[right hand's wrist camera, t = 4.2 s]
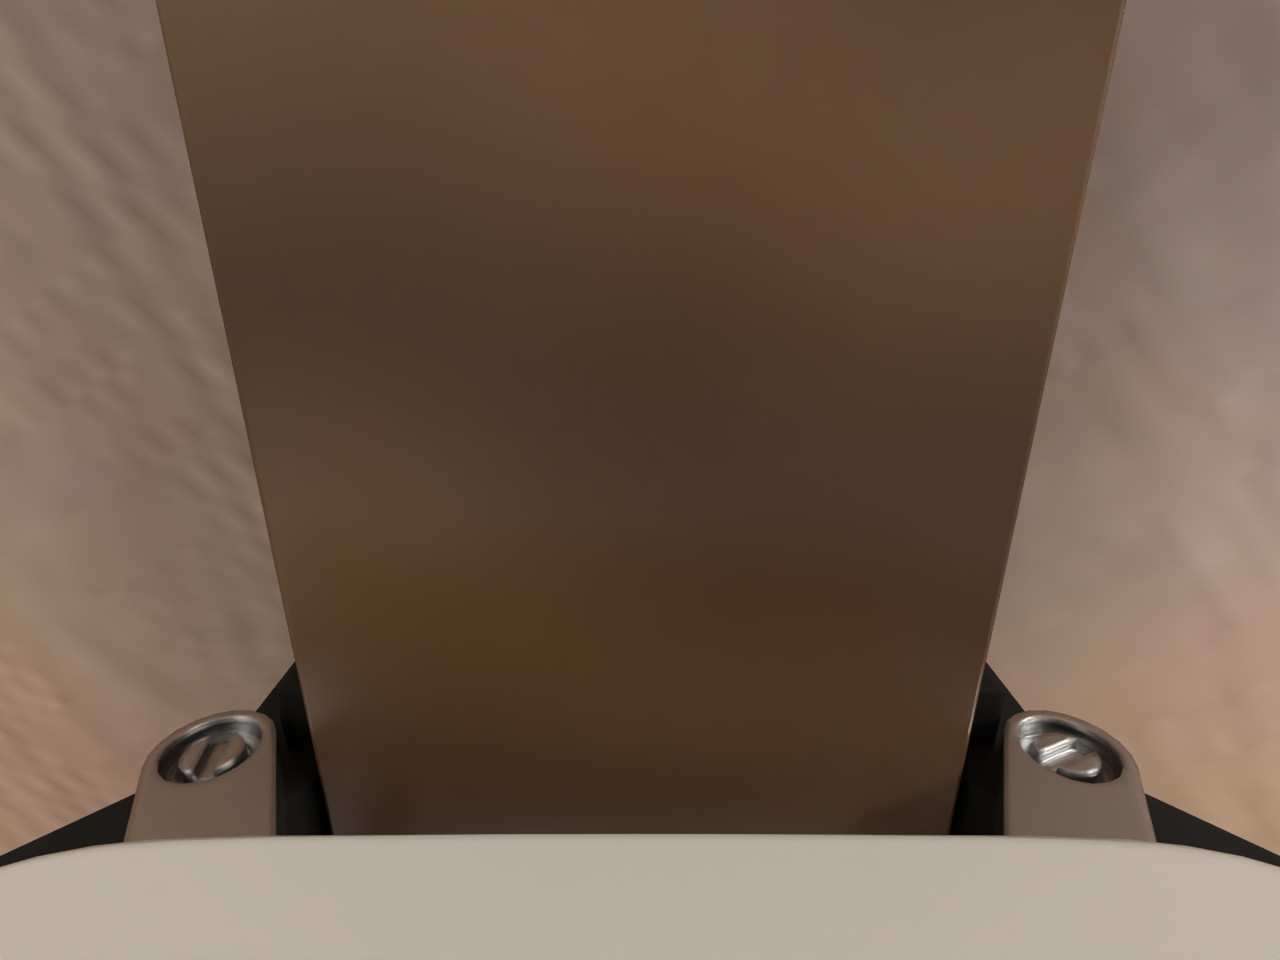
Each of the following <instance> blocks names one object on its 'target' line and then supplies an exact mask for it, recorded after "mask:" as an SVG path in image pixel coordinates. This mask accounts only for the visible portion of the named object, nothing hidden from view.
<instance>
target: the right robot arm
mask: <svg viewBox="0 0 1280 960" xmlns="http://www.w3.org/2000/svg"><path fill="white" fill-rule="evenodd" d="M0 960H1280V856H1279V855H1277V854H1274V853H1272V852H1270V851H1268V850H1266V849H1264V848H1262V847H1259V846H1257V845H1255V844H1253V843H1251V842H1249V841H1246V840H1244V839H1242V838H1240V837H1238V836H1236V835H1234V834H1231V833H1229V832H1227V831H1225V830H1223V829H1221V828H1218V827H1216V826H1214V825H1212V824H1210V823H1208V822H1205V821H1203V820H1201V819H1199V818H1197V817H1195V816H1193V815H1190V814H1188V813H1186V812H1184V811H1182V810H1180V809H1177V808H1175V807H1173V806H1171V805H1169V804H1167V803H1164V802H1162V801H1160V800H1158V799H1156V798H1154V797H1152V796H1149V795H1147V794H1145V793H1144V789H1143V785H1142V781H1141V777H1140V773H1139V769H1138V767H1137V765H1136V763H1135V761H1134V759H1133V757H1132V755H1131V754H1130V753H1129V752H1128V750H1127V749H1126V748H1125V747H1124V746H1123V745H1122V744H1121V743H1120V742H1119V741H1118V740H1116V739H1115V738H1113V737H1112V736H1111V735H1109V734H1108V733H1106V732H1105V731H1104V730H1102V729H1100V728H1098V727H1096V726H1094V725H1092V724H1090V723H1088V722H1086V721H1084V720H1081V719H1078V718H1075V717H1072V716H1069V715H1066V714H1062V713H1057V712H1051V711H1045V710H1042V711H1024V710H1023V709H1022V707H1021V706H1020V705H1019V704H1018V702H1017V701H1016V700H1015V698H1014V697H1013V696H1012V695H1011V693H1010V692H1009V691H1008V689H1007V688H1006V687H1005V686H1004V684H1003V683H1002V682H1001V680H1000V679H999V678H998V677H997V675H996V674H995V673H994V672H993V670H992V669H991V668H990V666H989V665H988V664H987V663H985V668H984V672H983V677H982V682H981V686H980V691H979V696H978V700H977V705H976V710H975V715H974V719H973V724H972V729H971V733H970V738H969V743H968V748H967V752H966V757H965V762H964V766H963V771H962V776H961V780H960V785H959V790H958V795H957V799H956V804H955V809H954V813H953V818H952V823H951V827H950V832H949V835H837V834H445V835H332V833H331V828H330V823H329V819H328V814H327V809H326V804H325V800H324V795H323V790H322V786H321V781H320V776H319V771H318V767H317V762H316V757H315V752H314V748H313V743H312V738H311V733H310V729H309V724H308V719H307V715H306V710H305V705H304V700H303V696H302V691H301V686H300V681H299V677H298V672H297V667H296V662H294V663H293V665H292V666H291V667H290V668H289V670H288V671H287V672H286V674H285V675H284V676H283V677H282V679H281V680H280V681H279V683H278V684H277V685H276V686H275V688H274V689H273V690H272V691H271V693H270V694H269V695H268V697H267V698H266V699H265V700H264V702H263V703H262V704H261V706H260V707H259V708H258V709H257V711H256V712H255V711H238V710H235V711H229V712H223V713H218V714H214V715H211V716H208V717H205V718H202V719H199V720H196V721H194V722H192V723H190V724H188V725H186V726H184V727H182V728H180V729H178V730H176V731H175V732H174V733H172V734H171V735H169V736H168V737H167V738H165V739H164V740H162V741H161V742H160V743H159V744H158V745H157V746H156V747H155V748H154V749H153V750H152V752H151V753H150V754H149V755H148V757H147V759H146V761H145V763H144V765H143V767H142V769H141V773H140V777H139V781H138V785H137V789H136V793H135V794H133V795H131V796H129V797H127V798H125V799H122V800H120V801H118V802H116V803H114V804H112V805H109V806H107V807H105V808H103V809H101V810H99V811H97V812H94V813H92V814H90V815H88V816H86V817H84V818H81V819H79V820H77V821H75V822H73V823H71V824H68V825H66V826H64V827H62V828H60V829H58V830H55V831H53V832H51V833H49V834H47V835H45V836H43V837H40V838H38V839H36V840H34V841H32V842H30V843H27V844H25V845H23V846H21V847H19V848H17V849H14V850H12V851H10V852H8V853H6V854H4V855H1V856H0Z"/></svg>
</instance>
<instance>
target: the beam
mask: <svg viewBox="0 0 1280 960" xmlns="http://www.w3.org/2000/svg"><path fill="white" fill-rule="evenodd" d="M1125 4H1126V0H156V5H157V9H158V14H159V19H160V24H161V28H162V33H163V38H164V43H165V47H166V52H167V57H168V62H169V66H170V71H171V76H172V80H173V85H174V90H175V95H176V99H177V104H178V109H179V114H180V118H181V123H182V128H183V133H184V137H185V142H186V147H187V151H188V156H189V161H190V166H191V170H192V175H193V180H194V185H195V189H196V194H197V199H198V203H199V208H200V213H201V218H202V222H203V227H204V232H205V237H206V241H207V246H208V251H209V256H210V260H211V265H212V270H213V274H214V279H215V284H216V289H217V293H218V298H219V303H220V308H221V312H222V317H223V322H224V327H225V331H226V336H227V341H228V345H229V350H230V355H231V360H232V364H233V369H234V374H235V379H236V383H237V388H238V393H239V397H240V402H241V407H242V412H243V416H244V421H245V426H246V431H247V435H248V440H249V445H250V450H251V454H252V459H253V464H254V468H255V473H256V478H257V483H258V487H259V492H260V497H261V502H262V506H263V511H264V516H265V521H266V525H267V530H268V535H269V539H270V544H271V549H272V554H273V558H274V563H275V568H276V573H277V577H278V582H279V587H280V592H281V596H282V601H283V606H284V610H285V615H286V620H287V625H288V629H289V634H290V639H291V644H292V648H293V653H294V658H295V662H296V667H297V672H298V677H299V681H300V686H301V691H302V696H303V700H304V705H305V710H306V715H307V719H308V724H309V729H310V733H311V738H312V743H313V748H314V752H315V757H316V762H317V767H318V771H319V776H320V781H321V786H322V790H323V795H324V800H325V804H326V809H327V814H328V819H329V823H330V828H331V833H332V835H445V834H837V835H949V832H950V827H951V823H952V818H953V813H954V809H955V804H956V799H957V795H958V790H959V785H960V780H961V776H962V771H963V766H964V762H965V757H966V752H967V748H968V743H969V738H970V733H971V729H972V724H973V719H974V715H975V710H976V705H977V700H978V696H979V691H980V686H981V682H982V677H983V672H984V668H985V663H986V658H987V653H988V649H989V644H990V639H991V635H992V630H993V625H994V620H995V616H996V611H997V606H998V602H999V597H1000V592H1001V588H1002V583H1003V578H1004V573H1005V569H1006V564H1007V559H1008V555H1009V550H1010V545H1011V540H1012V536H1013V531H1014V526H1015V522H1016V517H1017V512H1018V508H1019V503H1020V498H1021V493H1022V489H1023V484H1024V479H1025V475H1026V470H1027V465H1028V460H1029V456H1030V451H1031V446H1032V442H1033V437H1034V432H1035V428H1036V423H1037V418H1038V413H1039V409H1040V404H1041V399H1042V395H1043V390H1044V385H1045V380H1046V376H1047V371H1048V366H1049V362H1050V357H1051V352H1052V348H1053V343H1054V338H1055V333H1056V329H1057V324H1058V319H1059V315H1060V310H1061V305H1062V300H1063V296H1064V291H1065V286H1066V282H1067V277H1068V272H1069V268H1070V263H1071V258H1072V253H1073V249H1074V244H1075V239H1076V235H1077V230H1078V225H1079V220H1080V216H1081V211H1082V206H1083V202H1084V197H1085V192H1086V188H1087V183H1088V178H1089V173H1090V169H1091V164H1092V159H1093V155H1094V150H1095V145H1096V140H1097V136H1098V131H1099V126H1100V122H1101V117H1102V112H1103V108H1104V103H1105V98H1106V93H1107V89H1108V84H1109V79H1110V75H1111V70H1112V65H1113V61H1114V56H1115V51H1116V46H1117V42H1118V37H1119V32H1120V28H1121V23H1122V18H1123V13H1124V9H1125Z"/></svg>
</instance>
